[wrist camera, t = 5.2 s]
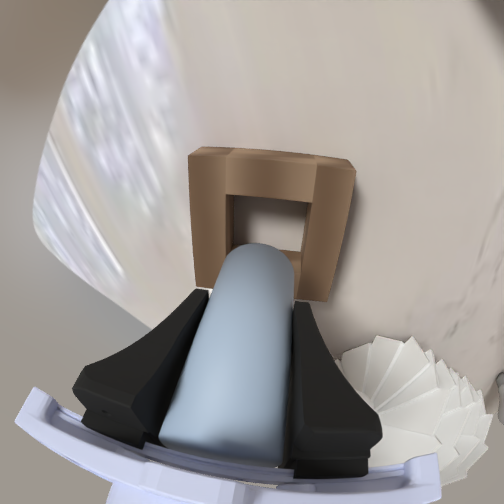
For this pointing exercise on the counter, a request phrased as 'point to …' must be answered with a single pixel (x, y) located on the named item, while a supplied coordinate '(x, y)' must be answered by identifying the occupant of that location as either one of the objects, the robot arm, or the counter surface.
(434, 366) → the spiral staircase
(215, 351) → the peg
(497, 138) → the counter surface
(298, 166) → the socket block
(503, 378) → the lightbulb
